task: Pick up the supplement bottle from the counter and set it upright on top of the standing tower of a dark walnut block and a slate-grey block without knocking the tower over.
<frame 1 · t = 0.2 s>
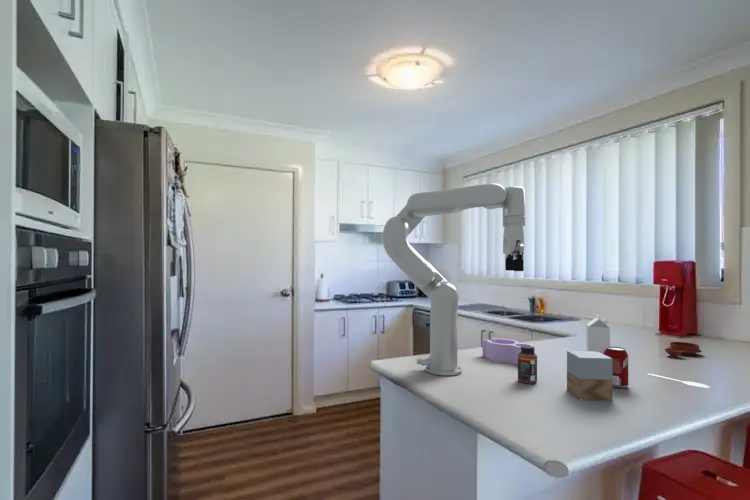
hand: (514, 270, 143), 36 cm above the counter, tool pointing down, fingers open, 9 cm apart
soda can: (615, 386, 130), on the counter
spoon: (676, 382, 136), on the counter
pottery: (680, 355, 175), on the counter
tower top block: (588, 374, 121), point 6 cm above the counter, touching tower base block
tower base block: (588, 395, 120), on the counter, touching tower top block
milk carton: (598, 365, 155), on the counter
supplement bottle: (527, 382, 133), on the counter
clip: (508, 360, 163), on the counter
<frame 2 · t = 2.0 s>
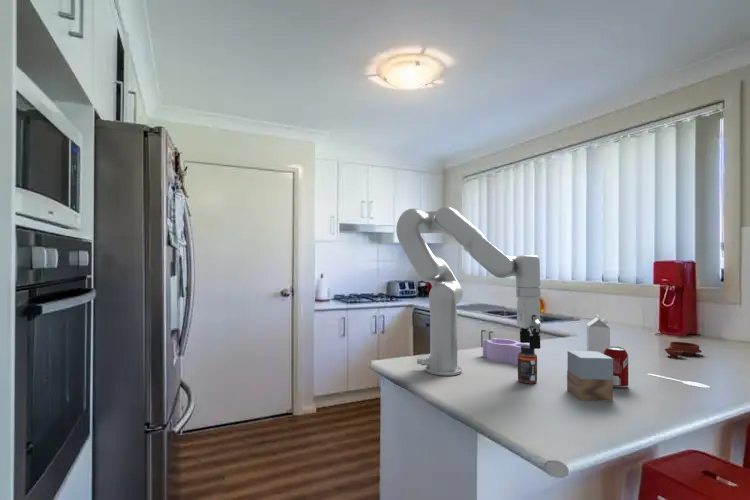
hand: (529, 345, 133), 12 cm above the counter, tool pointing down, fingers open, 9 cm apart
nothing on the counter moved.
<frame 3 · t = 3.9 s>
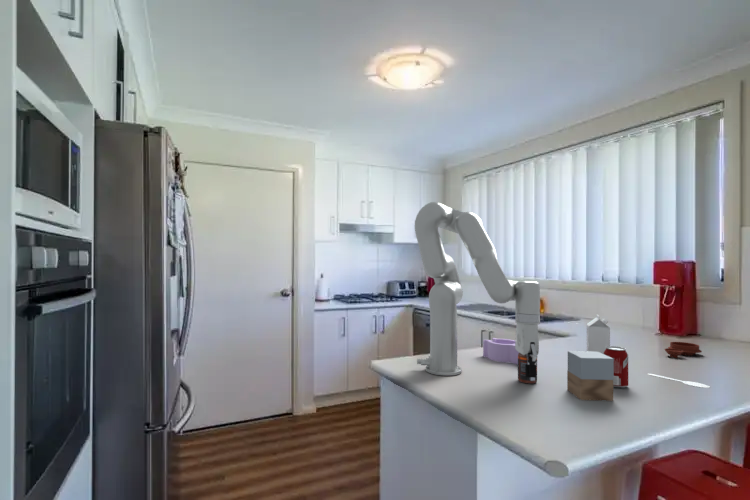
hand: (527, 373, 133), 3 cm above the counter, tool pointing down, fingers closed on supplement bottle, 6 cm apart
supplement bottle: (527, 382, 133), on the counter, touching gripper
everything else where it was.
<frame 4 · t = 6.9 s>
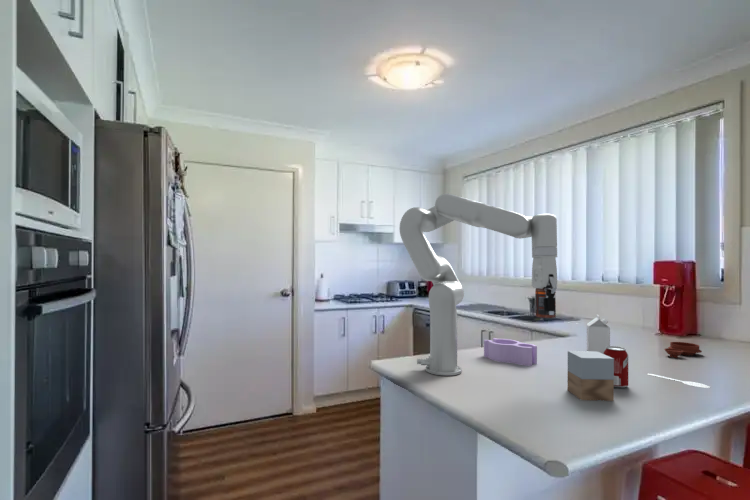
hand: (545, 309, 130), 24 cm above the counter, tool pointing down, fingers closed on supplement bottle, 6 cm apart
supplement bottle: (545, 318, 130), point 21 cm above the counter, touching gripper
everything else where it was.
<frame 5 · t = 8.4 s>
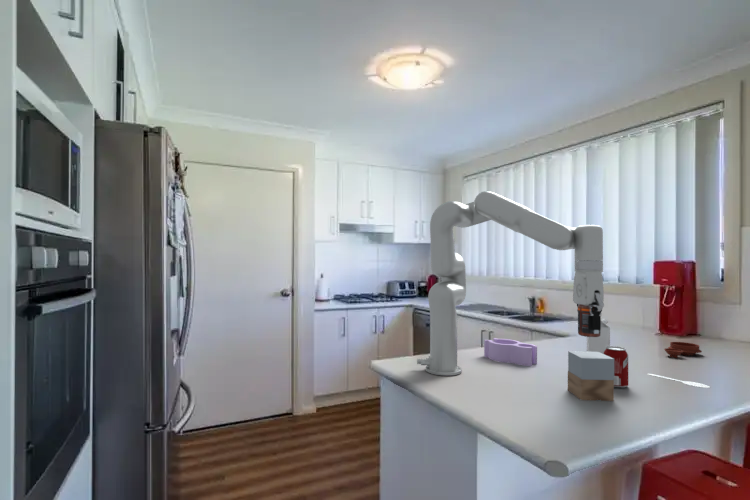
hand: (588, 327, 121), 20 cm above the counter, tool pointing down, fingers closed on supplement bottle, 6 cm apart
supplement bottle: (589, 336, 121), point 17 cm above the counter, touching gripper
everything else where it was.
when the fingers open (16 cm above the counter, at t = 9.9 s): supplement bottle drops 1 cm, resting on tower top block.
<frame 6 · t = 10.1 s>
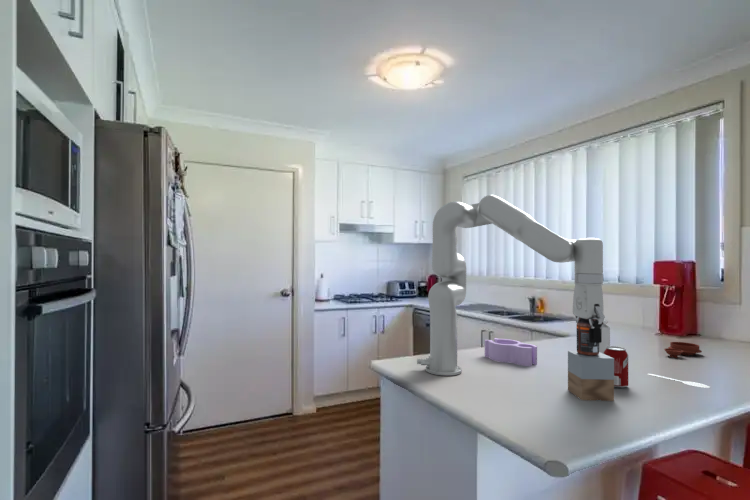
hand: (588, 339, 121), 16 cm above the counter, tool pointing down, fingers open, 7 cm apart
tower top block: (590, 374, 120), point 6 cm above the counter, touching supplement bottle, tower base block
supplement bottle: (587, 354, 121), point 12 cm above the counter, touching tower top block
everything else where it was.
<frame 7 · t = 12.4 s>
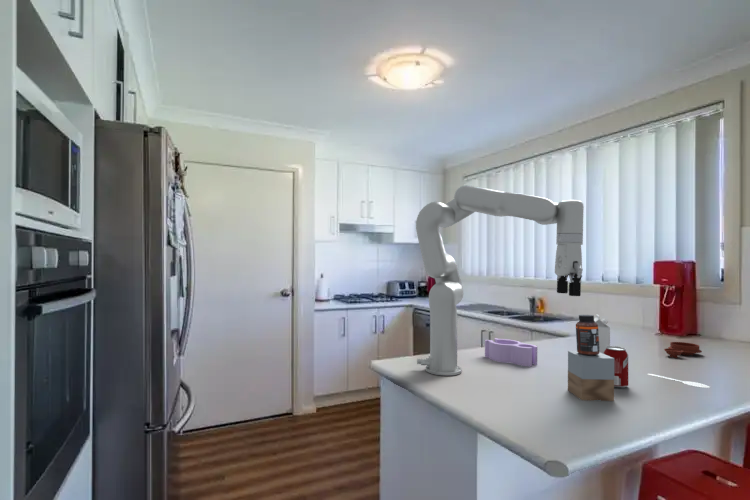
hand: (568, 294, 128), 29 cm above the counter, tool pointing down, fingers open, 9 cm apart
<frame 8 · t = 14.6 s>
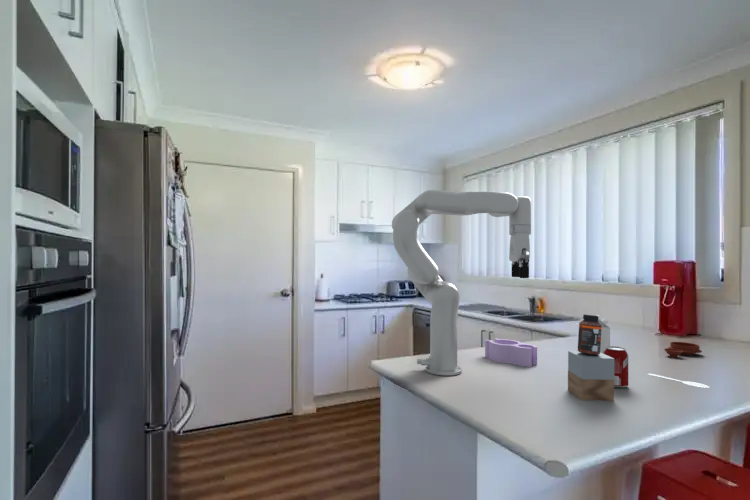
hand: (519, 277, 149), 33 cm above the counter, tool pointing down, fingers open, 9 cm apart
at the end: supplement bottle 0.4 cm off-centre on the tower base block, point 12.0 cm above the tower base block's base; tower top block 0.1 cm off-centre on the tower base block, point 6.0 cm above the tower base block's base; supplement bottle tilted 3° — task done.
